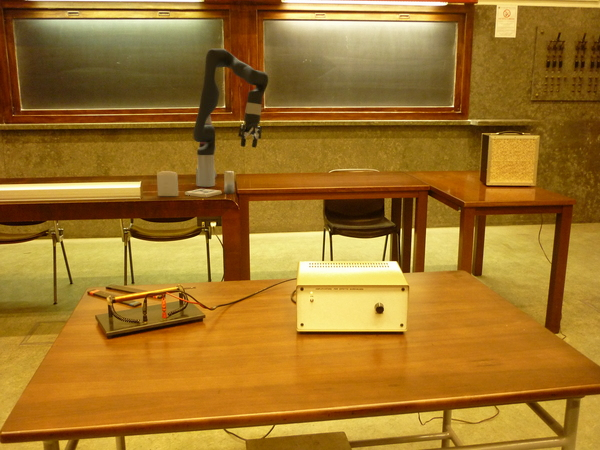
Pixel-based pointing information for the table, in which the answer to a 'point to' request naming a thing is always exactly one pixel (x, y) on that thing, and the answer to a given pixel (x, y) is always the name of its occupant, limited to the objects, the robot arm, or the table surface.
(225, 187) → the canister
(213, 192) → the board
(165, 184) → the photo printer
